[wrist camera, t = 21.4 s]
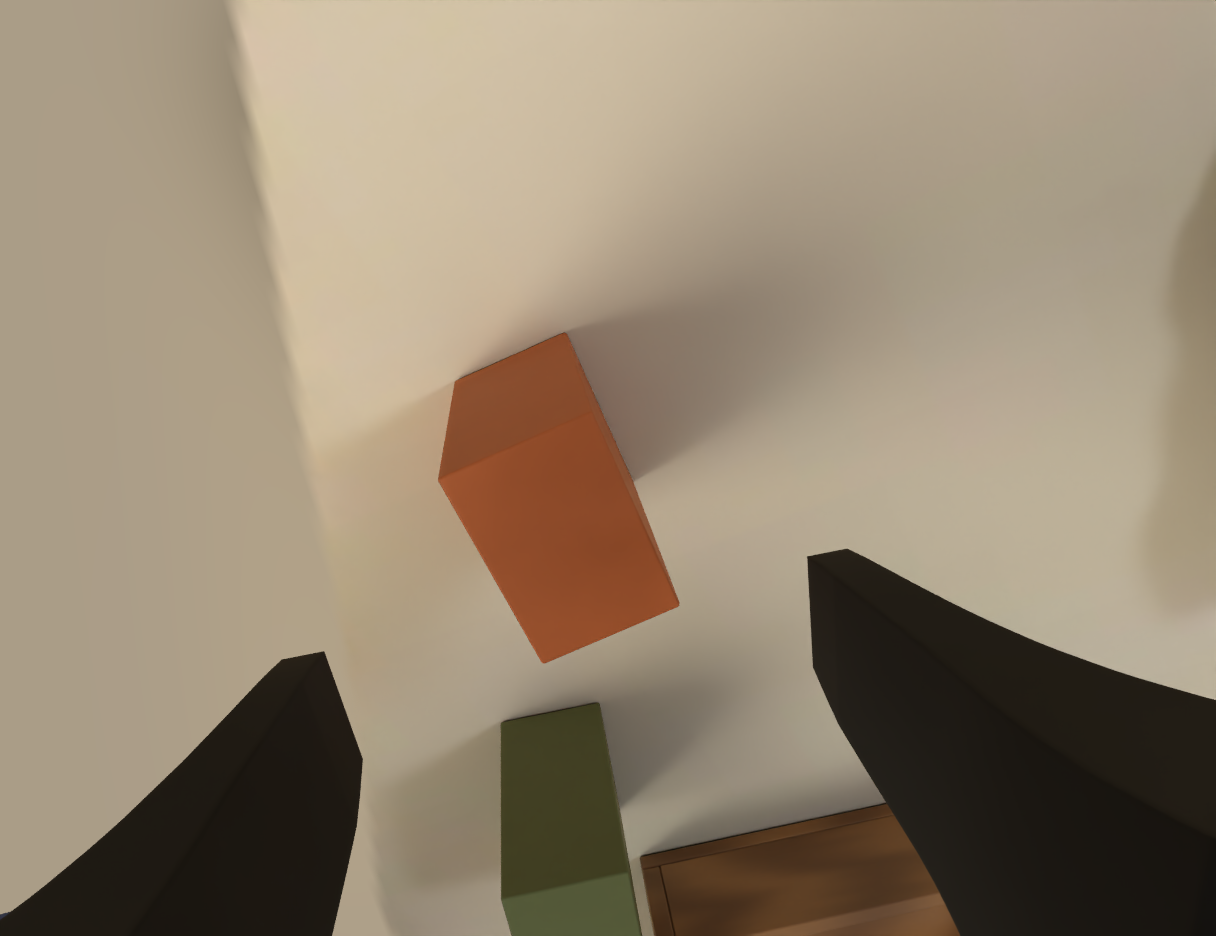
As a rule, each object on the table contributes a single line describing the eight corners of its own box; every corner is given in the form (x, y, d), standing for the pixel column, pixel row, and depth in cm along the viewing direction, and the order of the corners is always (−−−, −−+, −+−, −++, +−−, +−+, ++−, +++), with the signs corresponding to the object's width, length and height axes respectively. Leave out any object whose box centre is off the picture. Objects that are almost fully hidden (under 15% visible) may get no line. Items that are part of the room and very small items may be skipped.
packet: (528, 830, 25) (536, 1021, 20) (500, 722, 24) (500, 899, 18) (620, 811, 26) (652, 995, 20) (599, 701, 24) (628, 872, 18)
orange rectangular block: (531, 527, 21) (542, 665, 16) (454, 381, 19) (436, 479, 14) (633, 483, 21) (680, 606, 16) (565, 331, 19) (591, 411, 14)
